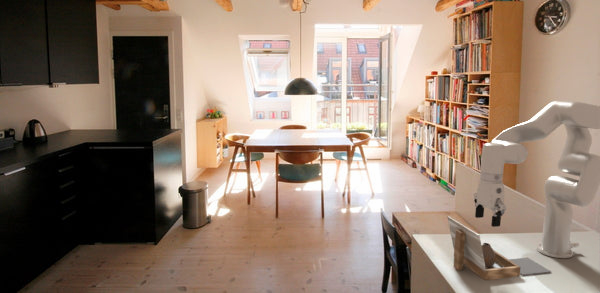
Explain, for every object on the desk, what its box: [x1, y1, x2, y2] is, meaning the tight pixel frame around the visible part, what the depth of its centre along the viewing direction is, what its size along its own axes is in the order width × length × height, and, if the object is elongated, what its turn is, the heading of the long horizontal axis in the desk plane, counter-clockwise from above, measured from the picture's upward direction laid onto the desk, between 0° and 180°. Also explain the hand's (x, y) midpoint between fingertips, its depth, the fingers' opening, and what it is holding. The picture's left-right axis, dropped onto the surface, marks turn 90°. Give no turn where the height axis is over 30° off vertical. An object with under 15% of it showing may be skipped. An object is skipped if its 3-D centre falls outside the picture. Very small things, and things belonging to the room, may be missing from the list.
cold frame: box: [446, 215, 521, 281], centre depth 158 cm, size 19×20×17 cm
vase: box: [481, 242, 496, 269], centre depth 159 cm, size 7×7×9 cm
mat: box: [508, 257, 552, 277], centre depth 158 cm, size 12×12×1 cm
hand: (487, 221), depth 156 cm, fingers open, 9 cm apart
